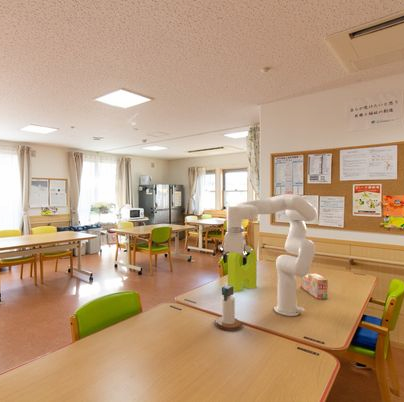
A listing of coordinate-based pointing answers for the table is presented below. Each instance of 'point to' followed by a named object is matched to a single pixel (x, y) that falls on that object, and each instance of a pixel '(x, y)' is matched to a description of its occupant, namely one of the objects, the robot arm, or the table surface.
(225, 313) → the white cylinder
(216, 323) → the base
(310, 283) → the pink patterned box
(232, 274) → the decorative object
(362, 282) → the table surface
